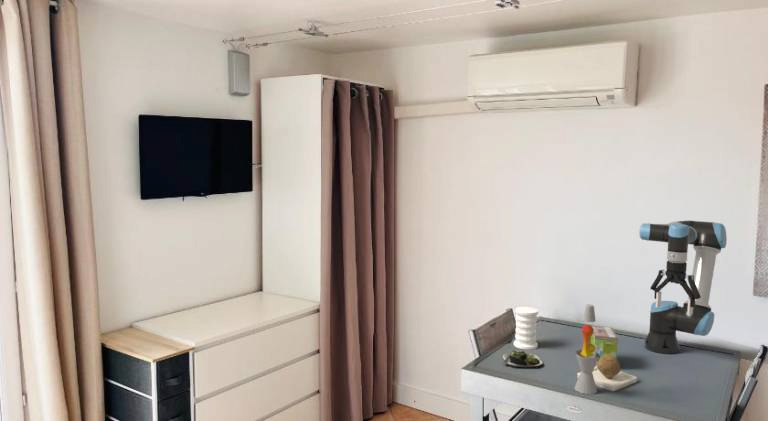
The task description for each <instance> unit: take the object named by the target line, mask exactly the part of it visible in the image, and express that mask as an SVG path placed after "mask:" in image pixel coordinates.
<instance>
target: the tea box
mask: <svg viewBox="0 0 768 421" xmlns="http://www.w3.org/2000/svg"><path fill="white" fill-rule="evenodd" d="M590 326H591V327H592V328H593V330H594V332H593V334H592V336H591V338H590V340H589V344H593V345H594V346H595V351H594V352H596V353H598V354H599V358H598V361H599V359H600V357H601V356H603V355H605V354H610V355H613V356H614V357H615V358H616V359H617V357H618V356H617V355H618V354H617V353H618V342H619V341H618V340H619V339H618V335H617V333H616V332H615V331H614V329H613V327H607V326H593V325H590ZM598 361H597V363H598ZM597 363H596V365H595V367H596V366H597Z"/></svg>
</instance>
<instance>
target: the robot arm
mask: <svg viewBox="0 0 768 421" xmlns="http://www.w3.org/2000/svg"><path fill="white" fill-rule="evenodd" d="M638 232H639V238H640V239H641V240H642V241H650V242H660V243H667V252H666V255H667V256H666V260H667V261H666V268H665V269H666V270H665V269H659V270H658V273H657V275H656V277H655V279H654V281H653V283H652V284H651V286H650V290H652V291H653V292H654V300H655V301H654V302H653V303H652V304H651V305H650V311H649V312H650V316H649V329H648V330H649V331H648V334H647V336H646V338H645V340H644V348H645V349H647V350H648V351H650V352H654V353H658V354H659V353H660V354H665V355H666V354H667V355H672V354H677V353H678V352H680V345H679V341H678V338H677V332H682V333H686V334H691V335H695V336H701V337H705V336H708V335H709V334H710V332H711V330H712V328H713V325H714V321H715V313H714V312H713V311H712V307H711V305H709V302H710V301H709V300H710V297H711V295H710V294H711V290H712V289H711V288H712V284H713V278H714V271H715V266H716V265H715V264H716V259H717V255H718V254H720V253H721V250H722V249H725V248H726V247H727V230H726V227H725V225H724V224H723V223H721V222H720V223H719V222H715V221H713V222H711V221H698V220H679V221H671V222H669V223H645V222H644V223H642V224H641V225H640V227H639V231H638ZM689 245H690V246H691V245H693V247H692V248H693V249H694V251H695V256H694V263H693V268H692V272H691V273H692V274H687V264H688V263H687V262H688V250H689V249H688V248H689V247H688V246H689ZM664 276H666V278H664V280H663V281H662V279H663V277H664ZM686 279H687V281H688V283H687V281H686ZM661 281H662V282H661ZM670 283H672V284H677V285H678V284H679V285H680V286H681V287H682V289H683V290H684V292H685V293H686V295H687V296H688V297H687V300H686V301H684V302H683V304H682V306H679V303H678V302H677V301H672V300H662V289H663V288H665V287H666V286H667V284H670ZM688 284H689V285H688Z"/></svg>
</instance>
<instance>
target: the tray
mask: <svg viewBox="0 0 768 421" xmlns="http://www.w3.org/2000/svg"><path fill="white" fill-rule="evenodd" d="M580 373H581V371H580V372H577V374H576V377H577V379H578V378H579V375H580ZM592 374H593V377H594V381H595V385H596V387H597V386H598V387H601V388H603V389H606V390H608V391H610V392H616V391H618V390H620V389H623V388H625V387H628V386H630V385H633V384H634V383H637V382H638V377H637V376H635V375H632V374H630V373H626V372H624V371H621V370H620V372H619V373H618V374H617V375H615V376H613V377H611V378H606V377H605V376H604V375H603V374H602V373H601V372H600V371H599V369H598V367H597V366H596V367H594V370H593V372H592Z"/></svg>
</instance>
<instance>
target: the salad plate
mask: <svg viewBox="0 0 768 421" xmlns="http://www.w3.org/2000/svg"><path fill="white" fill-rule="evenodd" d="M502 358H503V364H505V365H507V366H508V367H510V368H513V369H519V370H520V369H521V370H525V369H526V370H529V369H530V370H531V369H532V370H533V369H538V368H541V367H542V366H543V361H542V360H541V359H540V357H539V356H537V355H536V354H534V353H529V352H528V353H527V352H525V351H523V350H521V351H520V350H518V349H517V350H516V349H515V350H512V351H511V352H510V353H505V354H503V355H502Z"/></svg>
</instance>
